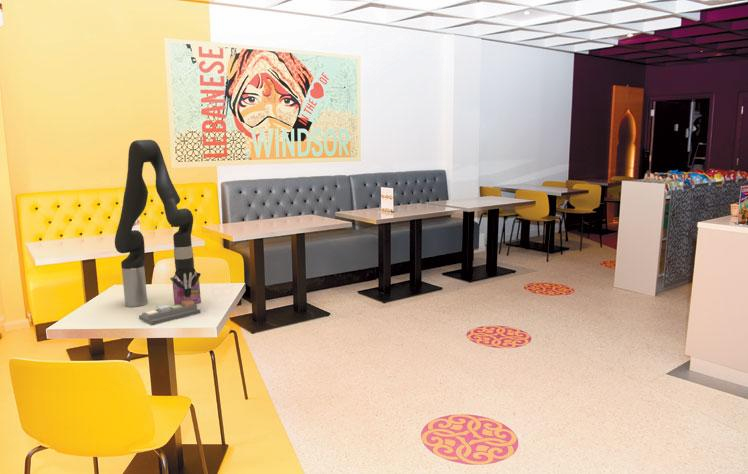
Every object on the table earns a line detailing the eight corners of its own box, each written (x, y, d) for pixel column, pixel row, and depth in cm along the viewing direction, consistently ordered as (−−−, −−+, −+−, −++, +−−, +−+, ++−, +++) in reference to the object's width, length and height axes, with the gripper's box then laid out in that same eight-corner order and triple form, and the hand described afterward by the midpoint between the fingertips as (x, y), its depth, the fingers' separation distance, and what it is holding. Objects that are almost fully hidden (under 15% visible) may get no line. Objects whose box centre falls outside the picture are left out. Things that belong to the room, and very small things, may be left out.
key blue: (157, 311, 230) (157, 306, 230) (166, 309, 233) (166, 304, 233) (161, 312, 228) (161, 308, 227) (170, 310, 230) (170, 306, 230)
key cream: (145, 316, 227) (144, 312, 227) (154, 314, 229) (154, 310, 229) (149, 318, 224) (148, 314, 224) (158, 316, 227) (158, 311, 227)
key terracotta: (181, 305, 237) (181, 301, 237) (189, 303, 240) (189, 299, 240) (185, 307, 235) (185, 303, 234) (194, 305, 237) (193, 301, 237)
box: (178, 307, 245) (175, 281, 243) (174, 304, 250) (171, 278, 248) (201, 303, 251) (199, 277, 249) (197, 300, 256) (195, 275, 254)
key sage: (170, 310, 234) (169, 306, 234) (178, 308, 237) (178, 304, 236) (174, 312, 231) (173, 308, 231) (182, 310, 234) (182, 306, 234)
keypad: (139, 318, 230) (138, 311, 229) (187, 307, 244) (186, 300, 244) (151, 325, 221) (150, 317, 221) (200, 313, 236) (199, 305, 235)
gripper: (194, 253, 241) (197, 292, 244) (164, 258, 232) (168, 298, 235) (202, 255, 236) (206, 295, 238) (172, 260, 227) (176, 301, 229)
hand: (187, 296), depth 237 cm, fingers closed
